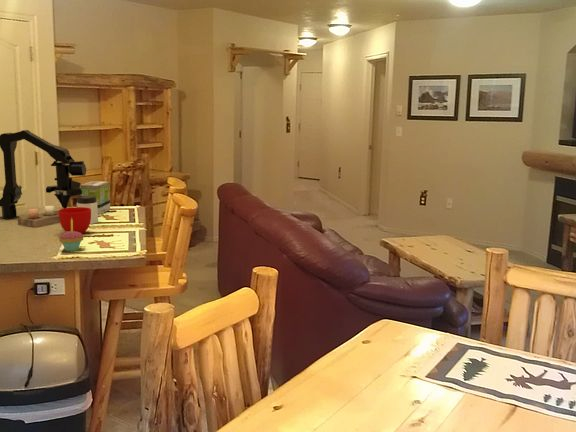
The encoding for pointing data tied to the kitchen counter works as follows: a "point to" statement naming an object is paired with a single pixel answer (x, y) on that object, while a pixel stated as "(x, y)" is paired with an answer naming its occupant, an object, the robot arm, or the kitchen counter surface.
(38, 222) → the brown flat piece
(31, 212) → the terracotta button
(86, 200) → the jar
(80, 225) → the ceramic cup
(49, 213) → the cream button
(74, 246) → the cupcake
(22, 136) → the robot arm
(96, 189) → the tea box
